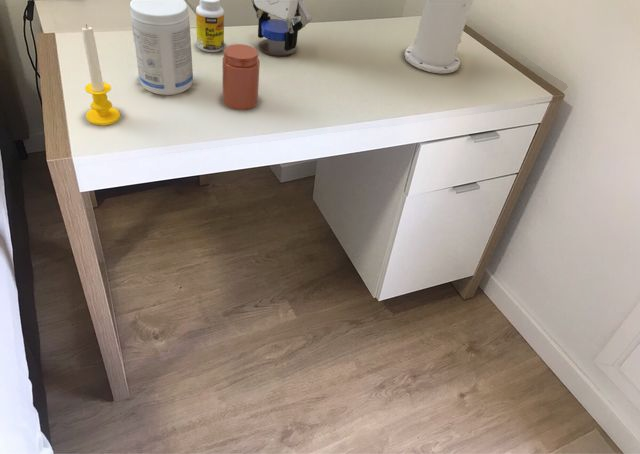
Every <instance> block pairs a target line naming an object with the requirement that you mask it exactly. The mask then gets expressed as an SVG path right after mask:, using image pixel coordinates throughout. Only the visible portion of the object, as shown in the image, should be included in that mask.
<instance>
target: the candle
mask: <svg viewBox="0 0 640 454" xmlns="http://www.w3.org/2000/svg"><path fill="white" fill-rule="evenodd" d="M81 33H82V40H83V45H84V50H85V57H86V61H87V67H88V72H89V77H90V83H88V84H86V85H85V87H84V91H86V92H87V93H88V94H91V95H92V100H93V101H91V102H90V109H89V110H88V111H87V112H86V114H85V116H86V117H85V118H86V120H87V122H89V123H90V124H93V125H95V126H109V125H113V124H115V123H117V122H118V121H119V120H120V118H121V113H120V111H119V110H118V109H117V108H115V107H114V106H113V103H112V101H110V100H109V99H108V95H107V94H108V93H109V92H110V91H111V90H112V86H111V84H109V83H108V82H104V79H103V76H102V70H101V64H100V59H99V53H98V48H97V43H96V37H95V34H94V30H93V27H91V26H88V25H87V24H85V27H82V28H81Z"/></svg>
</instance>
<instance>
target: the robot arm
mask: <svg viewBox="0 0 640 454" xmlns="http://www.w3.org/2000/svg"><path fill="white" fill-rule="evenodd" d="M250 1H251V3H252V7H253V9H254V11H255V13H256V14H255V16H256V18H257V20H258V27H257V38H259V39H262V38H265V37H264V36H263V35H262V34H261V25H262V22H263V21H265V20H269V19H271V16H269V15H272V16H273V17H276V18H277V19H279V20H284V21H286V23H287V27H288V32H286V36H285V47H284V49H285V50H286V51H289V50H291V49H294V48H295V49H296V47H297V45H298V37H299V36H298V34H299V31H301V30H302V29H303V28H305V27H306V25H308V24H310V22H311V21H312V16H311V14H310V13H309V10H308V9H307V7H306V6H305V0H250ZM473 2H474V0H425V2H424V6H423V10H422V13H421V17H420V20H419V25H418V29H417V32H416V37H415V40H414V43H413V45H409V46H408V47H407V48H406V49H405V51H404V58H405V60H406V62H407V63H409V64H410V65H411V66H413V67H415V68H417V69H419V70H422V71H424V72H428V73H433V74H441V75H442V74H451V73H454V72H456V71H457V70H458V69H459V67H460V64H461V61H460V59H459V57H458V56H457V52H458V47H459V46H460V44H461V43H462V35H463V32H464V29H465V26H466V23H467V20H468V17H469V13H470V11H471V9H472V4H473Z"/></svg>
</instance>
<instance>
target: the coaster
mask: <svg viewBox="0 0 640 454" xmlns="http://www.w3.org/2000/svg"><path fill="white" fill-rule="evenodd" d="M284 47H285V41H273V40H269V39H267V38H265V39H262V40H261V41H259V43H258V51H260V52H261V53H262V54H264V55H267V56H269V57H274V58H287V57H291V56H292V55H294V54H295V52H296V47H295V48H294V49H291V50H289V51H286V50H285V49H284Z"/></svg>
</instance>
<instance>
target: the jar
mask: <svg viewBox="0 0 640 454" xmlns="http://www.w3.org/2000/svg"><path fill="white" fill-rule="evenodd" d="M224 48H225V49H224V50H223V57H222V102H223V104H224V105H225V106H226V107H228V108H230V109H232V110H236V111H247V110H251V109H254V108H255V107H256V106H257V105H258V104H259V103H258V102H259V86H260V85H259V84H260V68H261V67H260V65H261V64H260V62H261V60H260V58H259V52H258V51H259V50H258V49H257V48H255V47H253V46H252V45H248V44H242V43H235V44H230V45H228V46H226V47H224Z"/></svg>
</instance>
